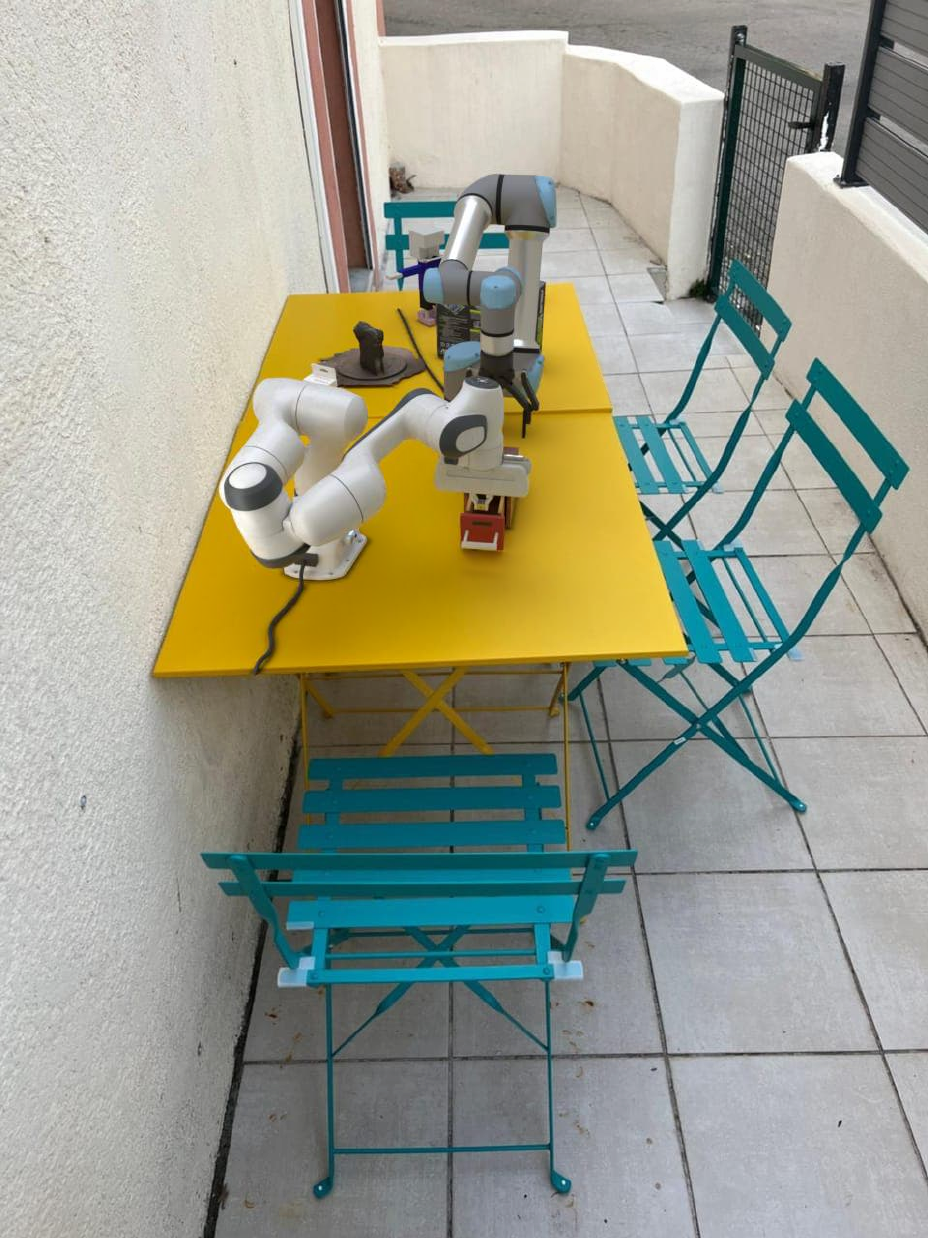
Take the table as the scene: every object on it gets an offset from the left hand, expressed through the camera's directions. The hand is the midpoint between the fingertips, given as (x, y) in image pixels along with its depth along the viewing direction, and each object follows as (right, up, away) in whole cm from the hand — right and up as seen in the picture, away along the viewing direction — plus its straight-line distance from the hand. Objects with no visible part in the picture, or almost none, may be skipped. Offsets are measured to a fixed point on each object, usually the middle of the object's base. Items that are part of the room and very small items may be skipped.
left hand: (481, 508), depth 192 cm
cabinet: (+3, +4, +26) cm, 27 cm away
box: (+4, +58, +90) cm, 107 cm away
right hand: (+4, +20, +20) cm, 29 cm away
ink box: (-44, +34, +62) cm, 83 cm away
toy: (-15, +80, +116) cm, 141 cm away
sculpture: (-34, +55, +86) cm, 108 cm away
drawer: (+1, -4, +15) cm, 16 cm away
